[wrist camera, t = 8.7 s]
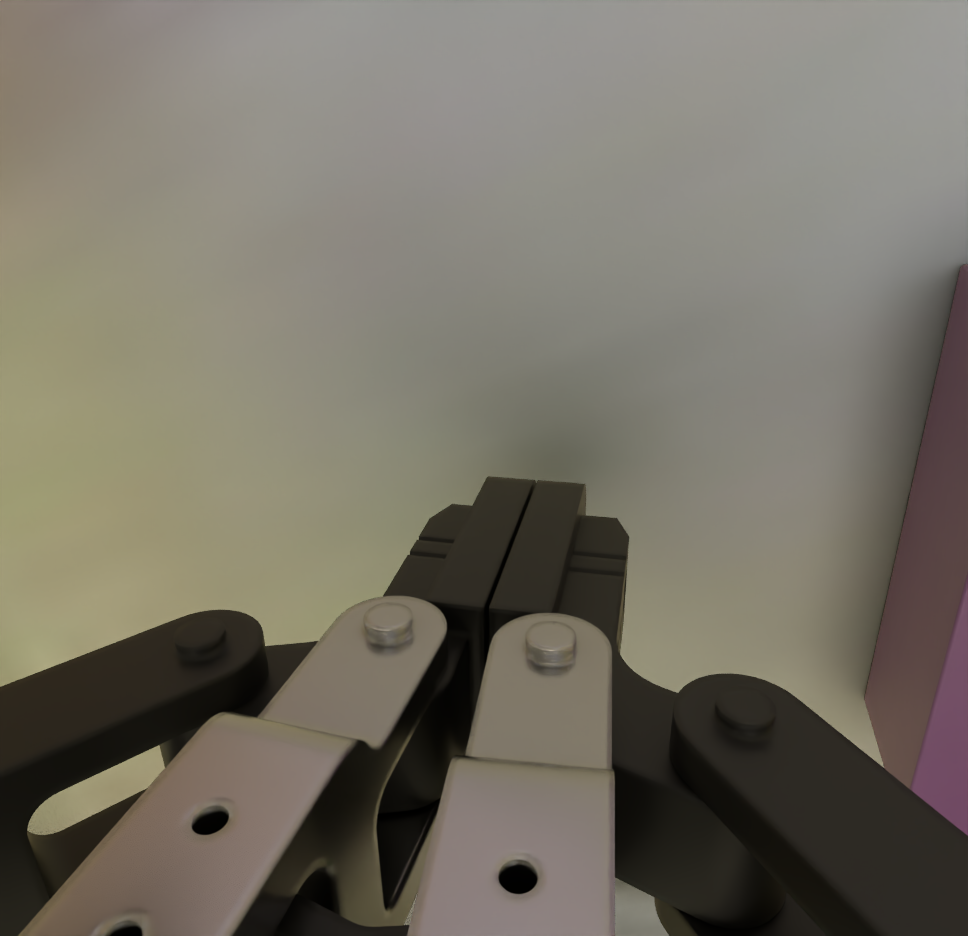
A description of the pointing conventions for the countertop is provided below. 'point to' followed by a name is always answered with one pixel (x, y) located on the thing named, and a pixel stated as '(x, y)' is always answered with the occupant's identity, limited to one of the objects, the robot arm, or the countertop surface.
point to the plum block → (931, 602)
